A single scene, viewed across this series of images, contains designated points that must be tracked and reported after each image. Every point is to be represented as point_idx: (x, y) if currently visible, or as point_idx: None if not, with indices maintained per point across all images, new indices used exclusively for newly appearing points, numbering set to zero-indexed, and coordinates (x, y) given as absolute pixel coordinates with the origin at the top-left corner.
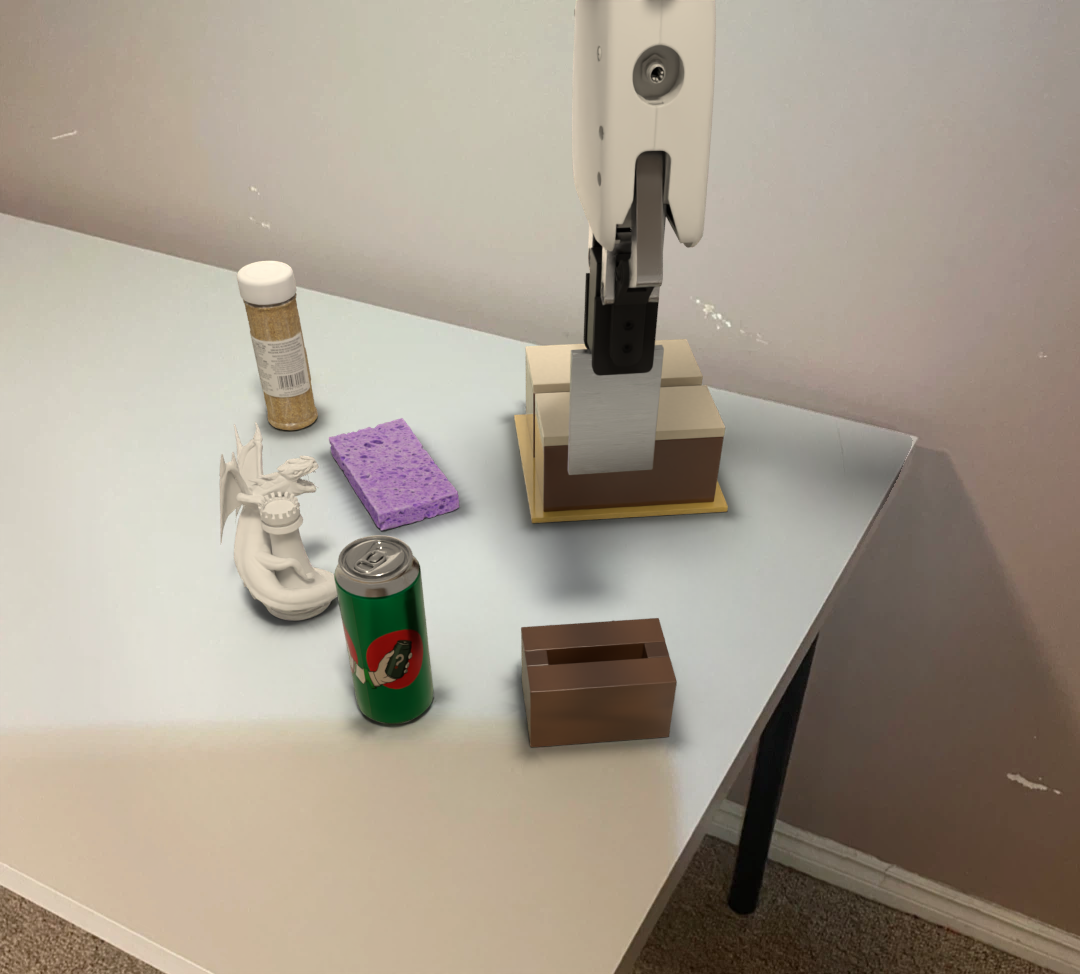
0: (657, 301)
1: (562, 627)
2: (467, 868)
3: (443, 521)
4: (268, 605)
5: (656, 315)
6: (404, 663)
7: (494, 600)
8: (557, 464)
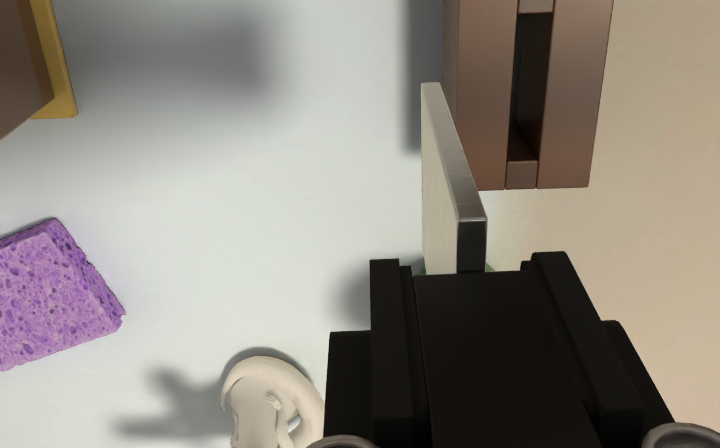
0: (716, 432)
1: (462, 135)
2: (716, 218)
3: (90, 237)
4: None
5: (617, 360)
6: None
7: (270, 176)
8: (8, 106)
